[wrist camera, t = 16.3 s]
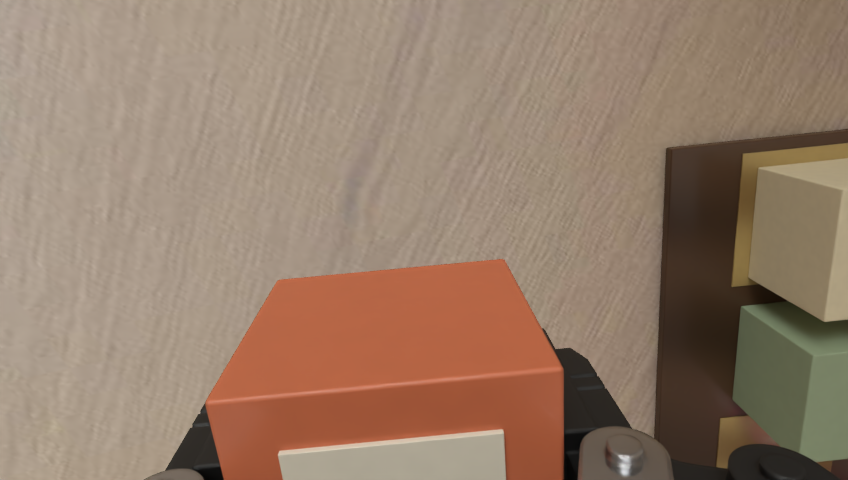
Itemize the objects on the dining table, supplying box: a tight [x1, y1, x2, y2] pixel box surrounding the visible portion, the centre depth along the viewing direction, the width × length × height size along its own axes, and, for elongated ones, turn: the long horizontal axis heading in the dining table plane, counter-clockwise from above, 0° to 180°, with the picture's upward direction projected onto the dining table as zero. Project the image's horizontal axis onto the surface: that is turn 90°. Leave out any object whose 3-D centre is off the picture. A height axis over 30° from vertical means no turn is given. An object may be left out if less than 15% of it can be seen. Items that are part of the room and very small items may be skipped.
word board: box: [654, 129, 848, 480], centre depth 25 cm, size 20×12×1 cm, turn 6°
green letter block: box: [732, 301, 848, 462], centre depth 23 cm, size 5×5×5 cm
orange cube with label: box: [205, 259, 564, 480], centre depth 10 cm, size 5×5×5 cm
